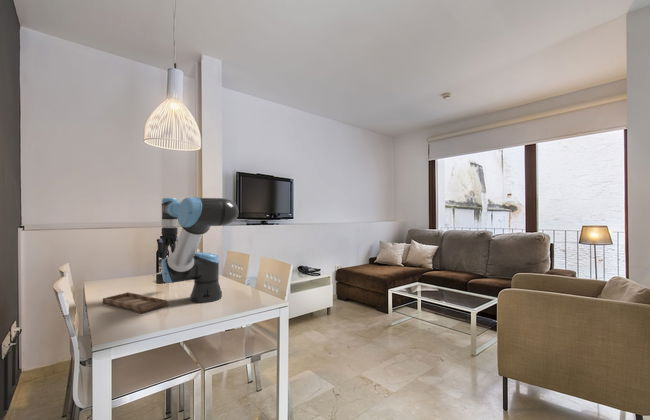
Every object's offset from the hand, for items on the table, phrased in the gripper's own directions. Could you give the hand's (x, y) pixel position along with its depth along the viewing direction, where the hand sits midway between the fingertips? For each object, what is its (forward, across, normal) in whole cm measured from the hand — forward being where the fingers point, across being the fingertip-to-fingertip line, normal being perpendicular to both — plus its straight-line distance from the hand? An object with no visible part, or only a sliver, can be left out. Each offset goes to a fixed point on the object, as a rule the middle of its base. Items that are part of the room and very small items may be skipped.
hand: (169, 271), depth 158 cm
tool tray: (+13, +6, +17) cm, 22 cm away
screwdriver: (+1, 0, 0) cm, 1 cm away
